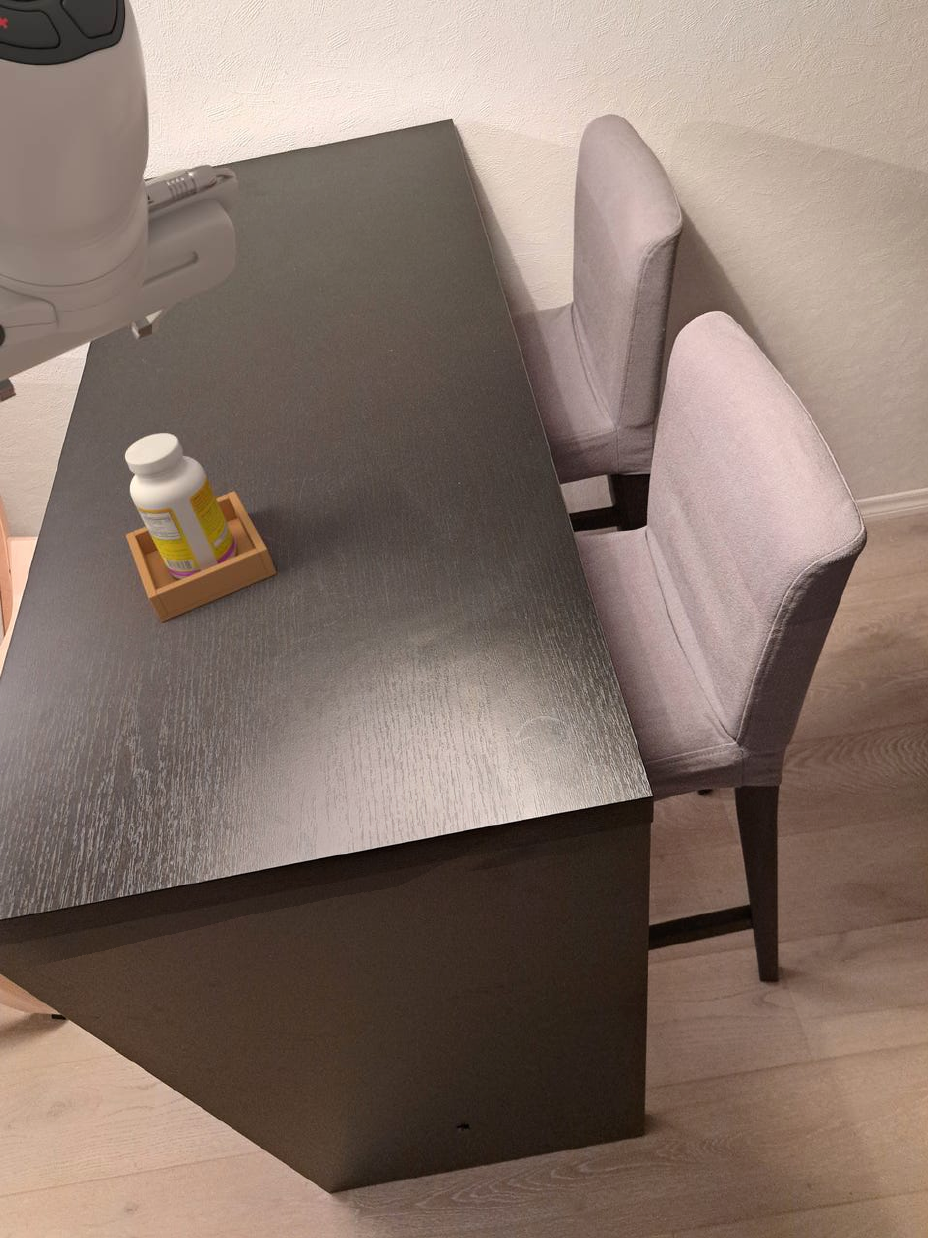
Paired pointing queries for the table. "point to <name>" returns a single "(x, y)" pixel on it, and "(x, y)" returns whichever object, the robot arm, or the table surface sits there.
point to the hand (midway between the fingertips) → (71, 357)
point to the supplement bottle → (178, 506)
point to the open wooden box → (212, 582)
